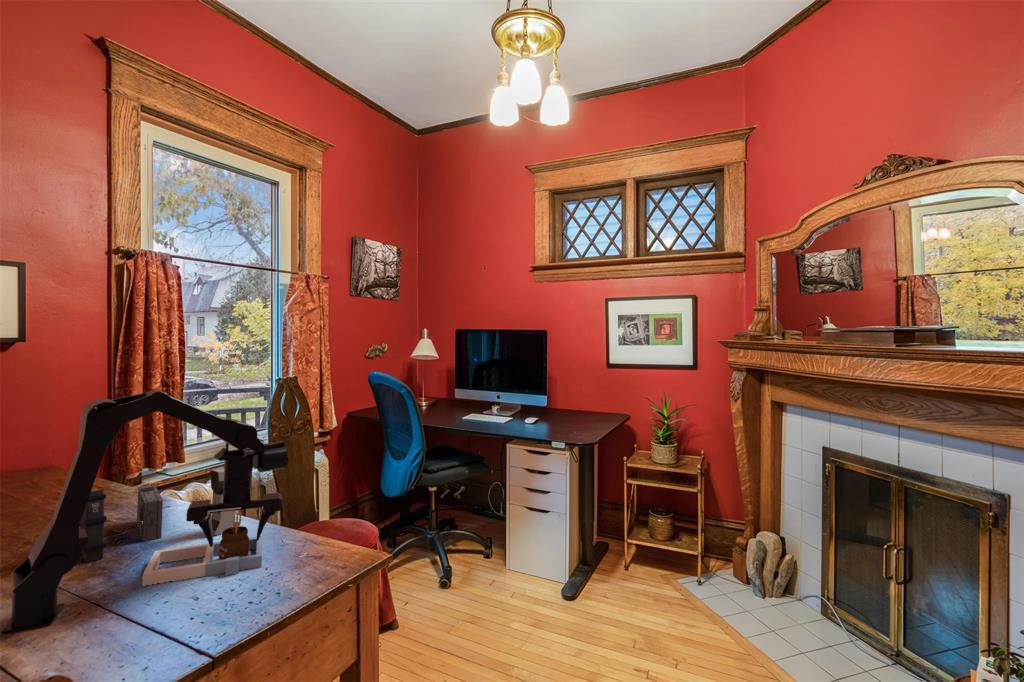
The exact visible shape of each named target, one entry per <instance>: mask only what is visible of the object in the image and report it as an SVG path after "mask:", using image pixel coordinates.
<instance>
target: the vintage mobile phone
mask: <svg viewBox="0 0 1024 682" xmlns="http://www.w3.org/2000/svg"><path fill="white" fill-rule="evenodd" d="M225 449H227V450H228V451H229V444H227V443H226V442H225ZM209 472H210V488H211V490H212V504H218V503H223V495H218V484H219V481H224V466H221V467H217V468H212V469H210V470H209ZM230 514H233V515H232V516H231V515H230ZM234 514H235V515H236V511H225V512H216V513H212V529H213V536H219V535H222V533H223V531H224V530H225V529H228V528H231V527H232V526H233V516H234ZM231 523H232V524H231ZM233 527H234V526H233Z"/></svg>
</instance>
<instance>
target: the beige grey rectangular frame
mask: <svg viewBox="0 0 1024 682" xmlns="http://www.w3.org/2000/svg"><path fill="white" fill-rule="evenodd" d="M263 536H264V535H260V538H259V540H257V536H254V537H253V536H252V537H249V549H252V550H255V552H256V553H255V554H251V555H249V554H248V556H243V557H239V556H237V557H231V558H227V559H223V560H219V559H217V560H213V559H212V558H214V556H217V554H218V555H219V547H220V542H221V541H217V542H213V546H212V547H210V545H209V542H207V543H203V544H202V543H201V544H195V545H188V546H181V547H179V546H178V547H173V548H166V549H160V550H155V551H153V554H152V556H151V558H150V560H149V562H148V564H147V566H146V567H145V570H144V572H143V573H142V587H147V586H146V585H148V586H152V584H154V585H158V584H157V583H160V584H164V583H163V582H166V583H170V582H169V581H172V582H178V581H183V579H184V580H189V578H190V579H195V578H200V577H208V576H214V575H219V574H218V573H221V574H224V575H226V576H229V575H228V574H232V575H235V574H234V573H238V574H239V571H243V570H242V569H245V570H249V569H250V568H251V569H255V568H256V567H257V568H262V562H263V561H262V560H263V541H264V539H263ZM203 556H205V557H203ZM197 557H198V558H203V561H202V562H197V563H192V564H186V565H177V566H172V567H165V568H159V567H160V564H163V563H162V562H164V563H170V562H176V561H184V560H183V559H185V560H190V558H191V559H197ZM157 568H159V569H157ZM251 569H250V570H251ZM238 570H239V571H238ZM224 572H226V573H224ZM213 574H214V575H213ZM177 580H178V581H177Z"/></svg>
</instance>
